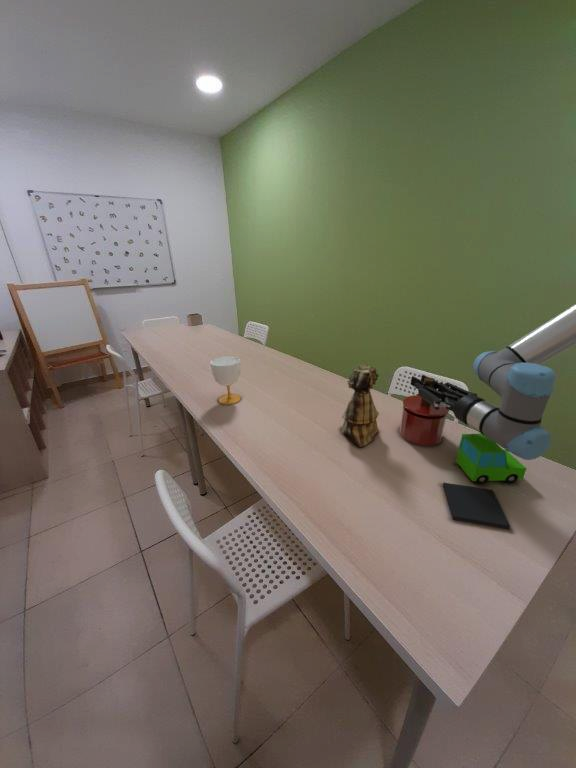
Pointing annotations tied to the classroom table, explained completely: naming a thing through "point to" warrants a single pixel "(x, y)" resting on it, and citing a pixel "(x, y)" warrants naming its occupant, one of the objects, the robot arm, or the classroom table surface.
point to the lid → (423, 403)
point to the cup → (226, 376)
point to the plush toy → (361, 407)
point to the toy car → (487, 460)
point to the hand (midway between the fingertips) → (417, 379)
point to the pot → (421, 428)
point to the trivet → (475, 505)
